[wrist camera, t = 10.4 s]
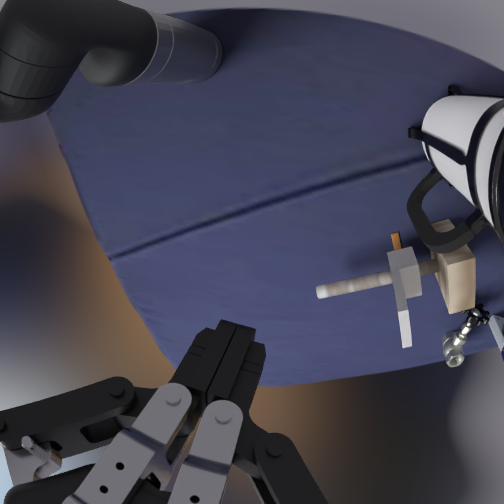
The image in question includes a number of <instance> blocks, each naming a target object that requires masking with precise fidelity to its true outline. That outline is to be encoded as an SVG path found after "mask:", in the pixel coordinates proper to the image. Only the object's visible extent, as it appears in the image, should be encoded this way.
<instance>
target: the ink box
mask: <svg viewBox="0 0 504 504" xmlns="http://www.w3.org/2000/svg"><path fill="white" fill-rule="evenodd" d="M489 326H490V328H491V330H492V332H493V334H494V337H495V339H496V341H497V344H498V346H499V348H500V352H501V355H502V359H503V363H504V318H502V317H499V316H496V315H492V317H491V318H490V321H489Z"/></svg>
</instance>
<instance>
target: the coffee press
mask: <svg viewBox="0 0 504 504" xmlns="http://www.w3.org/2000/svg"><path fill="white" fill-rule="evenodd" d="M448 92H449V96H448V97H444V98H442V99H440V100H438V101H437V102H435V103H434V104H433V105H432V106H431V107H430V108H429V110H428V111H427V113H426V115H425V117H424V120H423V124H422V129H417V128H408V137H409V138H414V139H418V140H421V141H422V144H423V148H424V151H425V154H426V156H427V158H428V160H429V161H430V163H431V165H432V166H433V169H432V170H431V171H430V173H429V174H428V175H427V176H426V177H425V178H424V179H423V180H422V181H421V182H420V183H419V184H418V186H417V187H416V188H415V189H414V191H413V192H412V194H411V195H410V197H409V199H408V202H407V211H408V214H409V217H410V219H411V221H412V223H413V225H414V227H415V229H416V231H417V233H418V235H419V237H420V239H421V240H422V241H423V243H424V244H425V245H426V246H427V247H428V248H429V249H430V250H431V251H433V252H435V253H439V254H445V253H450V252H453V251H455V250H457V249H459V248H461V247H463V246H464V245H466V244H467V243H468V242H470V241H471V240H472V239H473V238H474V237H475V234H477V233H479V232H480V231H481V230H482V229H483V228H484V227H485V226H486V225H489V226H490V227H491V228H492V229H493V230H494V231H495V232H496V233H497V235H498V237H499V239H500V241H501V242H502V244H503V245H504V96H493V95H479V94H463V93H462V92H461V90H460V89H459V87H458V86H452V85H449V87H448ZM457 94H459V95H465V96H457ZM476 96H477V97H476ZM442 176H443V177H445V178H446V179H447V180H448V181H447V180H446V179H444V178H443V177H442ZM442 179H444V180H445V181H447V182H448V183H449V186H453V187H455V188H456V189H457V190H458V191H460V192H461V193H462V194H463V195H464V196H465V197H466V198H467V199H468V200H469V201H470V202H471V203H472V204H473V205H474V206H475V207H476V210H475V212H474V213H473V214H472V215H471V216H469V217H468V218H467V220H466V222H462V223H461V224H460V225H458V226H457V227H455V228H454V229H452V230H450V231H447V232H437V231H435V229H434V228H433V226H432V224H431V223H430V221H429V219H428V218H427V216H426V214H425V213H424V211H423V209H422V207H421V204H422V200H423V198H424V196H425V195H426V193H427V192H428V191H429V190H430V189H431V188H432V187H433V186H434V185H435V184H436V183H437V182H438V181H440V180H442ZM482 216H484V217H485V218H486V219H487V220H488V221H489V222H490V223H491V224H492V225H493V226H492V225H491V224H490V223H489V222H488V221H487V220H486V219H485V218H484V217H482ZM481 217H482V218H481Z"/></svg>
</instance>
